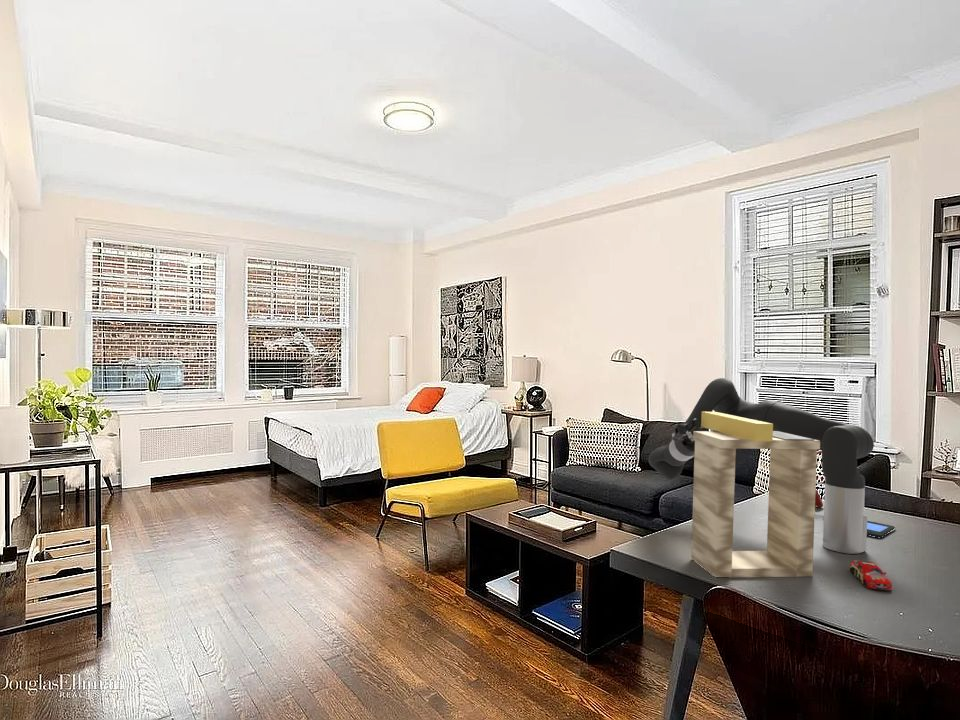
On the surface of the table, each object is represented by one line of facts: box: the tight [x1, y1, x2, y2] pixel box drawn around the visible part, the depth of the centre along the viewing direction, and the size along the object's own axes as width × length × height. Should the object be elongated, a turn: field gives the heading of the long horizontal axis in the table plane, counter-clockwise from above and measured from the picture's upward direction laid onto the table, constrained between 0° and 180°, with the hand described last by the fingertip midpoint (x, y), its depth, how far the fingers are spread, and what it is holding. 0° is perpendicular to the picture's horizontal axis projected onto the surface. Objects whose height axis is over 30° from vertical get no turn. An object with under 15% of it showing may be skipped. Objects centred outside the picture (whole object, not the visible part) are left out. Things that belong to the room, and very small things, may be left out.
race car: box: [849, 560, 893, 591], centre depth 138 cm, size 13×5×4 cm, turn 165°
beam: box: [701, 411, 773, 441], centre depth 148 cm, size 4×26×4 cm, turn 6°
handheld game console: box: [867, 520, 896, 538], centre depth 181 cm, size 16×13×9 cm
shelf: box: [690, 430, 821, 578], centre depth 145 cm, size 24×14×32 cm, turn 96°
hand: (711, 422), depth 160 cm, fingers open, 8 cm apart
